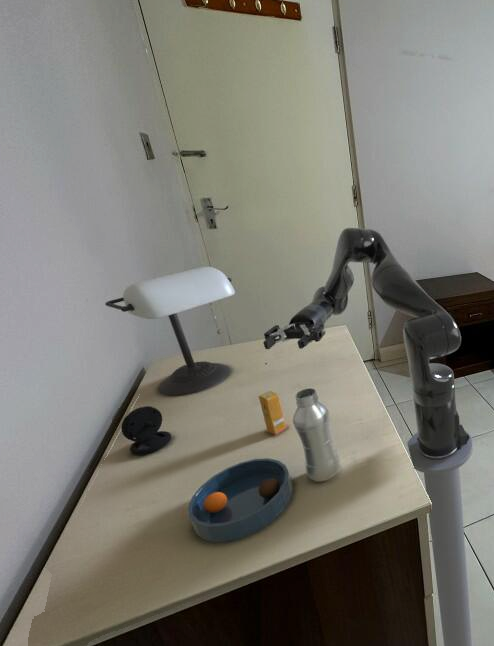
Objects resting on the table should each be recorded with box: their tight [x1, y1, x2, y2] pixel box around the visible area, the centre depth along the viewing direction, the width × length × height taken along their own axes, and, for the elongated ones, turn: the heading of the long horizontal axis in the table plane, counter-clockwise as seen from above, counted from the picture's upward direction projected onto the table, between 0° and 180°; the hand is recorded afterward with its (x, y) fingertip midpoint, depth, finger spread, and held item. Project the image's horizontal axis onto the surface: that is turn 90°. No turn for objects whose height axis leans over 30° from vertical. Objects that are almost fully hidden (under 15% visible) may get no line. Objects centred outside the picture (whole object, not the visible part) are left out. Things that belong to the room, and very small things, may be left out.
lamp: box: [105, 266, 236, 397], centre depth 112 cm, size 26×24×34 cm
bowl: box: [187, 457, 293, 544], centre depth 75 cm, size 16×16×4 cm
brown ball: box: [259, 478, 280, 499], centre depth 77 cm, size 4×4×4 cm
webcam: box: [120, 405, 172, 456], centre depth 91 cm, size 8×8×10 cm
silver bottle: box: [292, 387, 341, 483], centre depth 79 cm, size 6×7×20 cm
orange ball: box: [204, 492, 227, 513], centre depth 74 cm, size 4×4×4 cm
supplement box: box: [258, 390, 287, 436], centre depth 95 cm, size 3×3×10 cm
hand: (283, 345), depth 101 cm, fingers open, 8 cm apart
